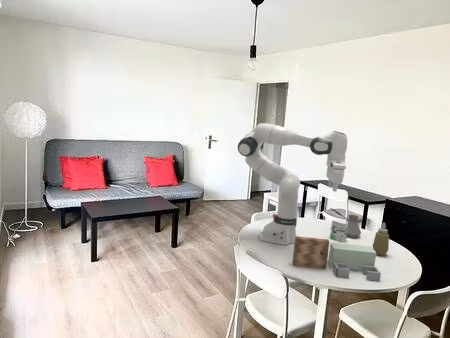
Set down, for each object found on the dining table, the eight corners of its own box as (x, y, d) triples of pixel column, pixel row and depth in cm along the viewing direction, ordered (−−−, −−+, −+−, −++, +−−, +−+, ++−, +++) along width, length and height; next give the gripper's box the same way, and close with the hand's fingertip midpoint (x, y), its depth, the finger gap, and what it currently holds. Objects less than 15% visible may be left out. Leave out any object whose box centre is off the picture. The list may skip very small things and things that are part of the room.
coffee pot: (362, 235, 211) (365, 213, 209) (356, 240, 203) (360, 217, 200) (330, 227, 225) (333, 205, 222) (323, 231, 216) (326, 209, 213)
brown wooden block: (293, 266, 162) (296, 239, 160) (292, 262, 166) (295, 236, 164) (326, 270, 160) (329, 242, 158) (324, 266, 164) (328, 239, 162)
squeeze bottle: (386, 258, 178) (391, 226, 175) (370, 254, 183) (375, 223, 180) (388, 253, 185) (393, 222, 182) (372, 249, 189) (377, 219, 186)
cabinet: (380, 281, 152) (383, 260, 150) (335, 276, 154) (338, 256, 152) (368, 264, 169) (371, 246, 167) (328, 260, 171) (330, 242, 169)
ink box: (329, 238, 204) (331, 219, 202) (332, 236, 207) (335, 218, 205) (342, 242, 198) (345, 223, 196) (346, 240, 202) (348, 222, 200)
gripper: (325, 160, 181) (322, 184, 183) (334, 165, 161) (330, 193, 163) (336, 160, 181) (333, 185, 183) (347, 166, 160) (343, 194, 163)
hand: (332, 189), depth 173 cm, fingers open, 8 cm apart
